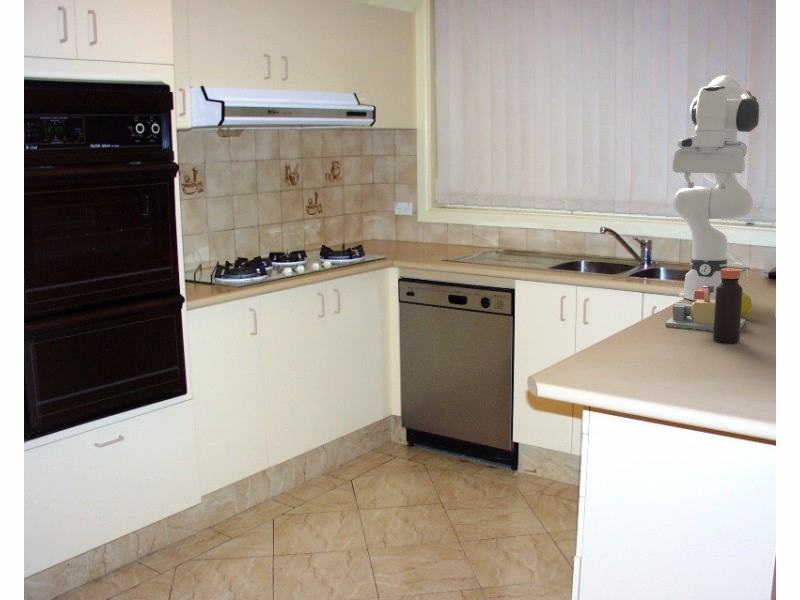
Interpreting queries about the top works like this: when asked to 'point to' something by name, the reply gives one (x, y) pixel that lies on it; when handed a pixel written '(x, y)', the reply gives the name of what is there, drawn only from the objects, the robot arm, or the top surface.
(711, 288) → the lever
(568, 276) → the top surface
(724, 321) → the bottle
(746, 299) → the lemon
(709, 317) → the valve assembly
